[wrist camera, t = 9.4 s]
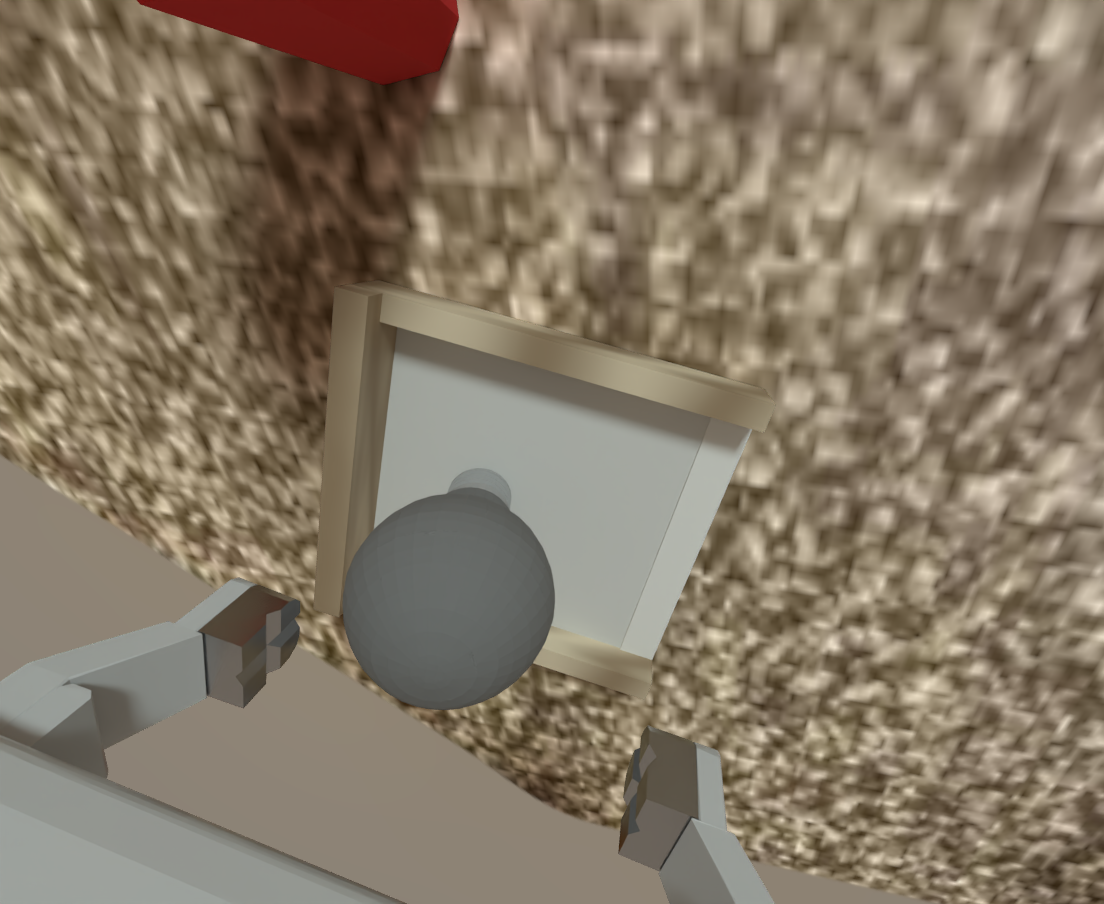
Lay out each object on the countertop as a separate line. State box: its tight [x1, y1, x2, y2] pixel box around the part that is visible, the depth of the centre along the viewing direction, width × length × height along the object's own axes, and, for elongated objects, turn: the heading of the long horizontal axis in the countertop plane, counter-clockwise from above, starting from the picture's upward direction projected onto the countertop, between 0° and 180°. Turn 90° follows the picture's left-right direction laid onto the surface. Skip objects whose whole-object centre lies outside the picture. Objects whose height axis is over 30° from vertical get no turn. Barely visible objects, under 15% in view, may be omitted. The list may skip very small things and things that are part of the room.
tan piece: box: [314, 280, 776, 700], centre depth 21 cm, size 15×14×3 cm
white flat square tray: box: [374, 327, 711, 648], centre depth 22 cm, size 15×14×1 cm
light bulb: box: [343, 468, 555, 710], centre depth 17 cm, size 6×6×10 cm
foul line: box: [620, 418, 752, 660], centre depth 22 cm, size 2×14×1 cm, turn 166°
